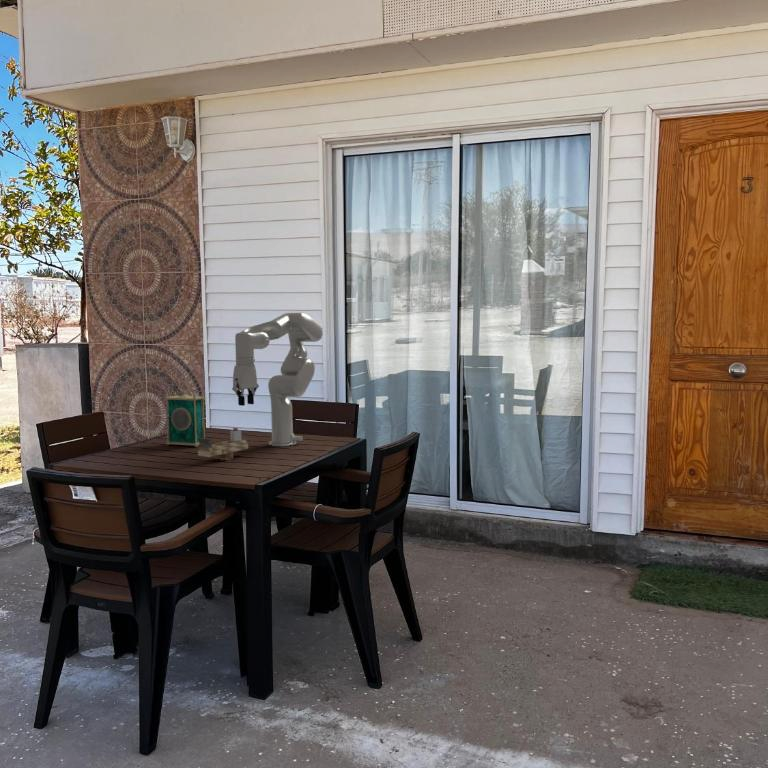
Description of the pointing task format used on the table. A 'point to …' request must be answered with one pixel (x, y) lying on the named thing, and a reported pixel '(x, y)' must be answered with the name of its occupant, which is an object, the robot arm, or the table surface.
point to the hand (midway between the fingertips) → (246, 404)
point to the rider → (235, 435)
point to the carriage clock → (185, 418)
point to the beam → (220, 448)
